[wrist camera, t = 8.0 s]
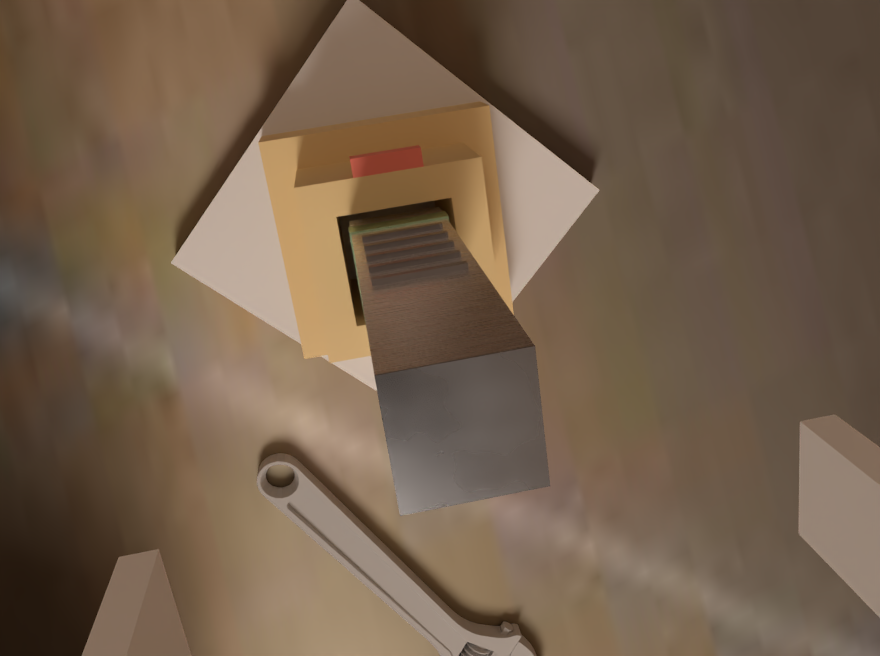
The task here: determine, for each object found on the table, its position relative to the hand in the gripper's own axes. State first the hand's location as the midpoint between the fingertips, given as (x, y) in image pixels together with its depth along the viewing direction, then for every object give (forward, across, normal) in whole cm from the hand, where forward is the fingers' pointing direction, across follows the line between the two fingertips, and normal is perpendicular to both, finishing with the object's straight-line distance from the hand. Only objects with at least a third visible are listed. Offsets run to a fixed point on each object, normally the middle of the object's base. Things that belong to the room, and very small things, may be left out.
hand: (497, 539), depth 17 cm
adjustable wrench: (+31, +2, +23) cm, 39 cm away
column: (+22, 0, 0) cm, 22 cm away
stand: (+30, 0, 0) cm, 30 cm away
